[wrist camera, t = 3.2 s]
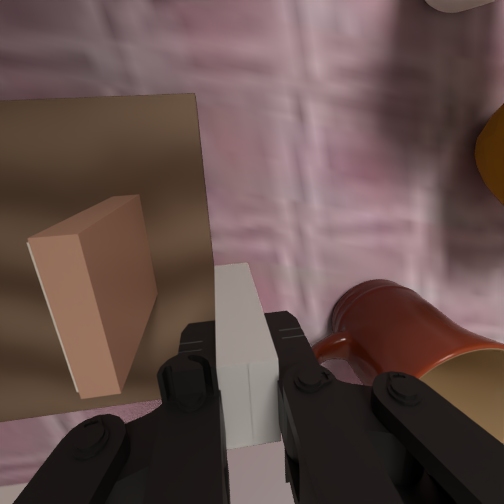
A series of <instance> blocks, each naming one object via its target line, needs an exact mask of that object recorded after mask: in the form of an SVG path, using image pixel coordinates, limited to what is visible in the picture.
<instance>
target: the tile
mask: <svg viewBox="0 0 504 504" xmlns="http://www.w3.org/2000/svg"><path fill="white" fill-rule="evenodd" d="M27 239H28V242H27V246H28V249H29V252H30V255H31V258H32V261H33V264H34V267H35V270H36V273H37V276H38V279H39V282H40V285H41V288H42V291H43V293H44V296H45V299H46V302H47V305H48V308H49V311H50V314H51V317H52V320H53V323H54V326H55V329H56V332H57V335H58V338H59V341H60V344H61V347H62V350H63V353H64V356H65V359H66V362H67V365H68V368H69V371H70V374H71V377H72V379H73V382H74V385H75V388H76V391H77V392H79V394H80V397H81V399H86V398H93V397H100V396H107V395H114V394H121V392H122V389H123V387H124V384H125V381H126V379H127V376H128V373H129V371H130V368H131V365H132V362H133V360H134V357H135V354H136V352H137V349H138V346H139V343H140V341H141V338H142V335H143V333H144V330H145V327H146V324H147V322H148V319H149V316H150V314H151V311H152V308H153V305H154V303H155V300H156V297H157V295H158V292H157V287H156V281H155V276H154V271H153V265H152V260H151V254H150V249H149V244H148V238H147V233H146V228H145V222H144V217H143V212H142V206H141V201H140V195H125V196H113V197H111V198H108V199H106V200H104V201H102V202H100V203H98V204H96V205H94V206H92V207H90V208H88V209H86V210H84V211H82V212H80V213H78V214H76V215H74V216H72V217H70V218H68V219H66V220H64V221H62V222H60V223H58V224H56V225H53V226H51V227H49V228H47V229H45V230H43V231H41V232H39V233H37V234H35V235H33V236H31V237H29V238H27Z"/></svg>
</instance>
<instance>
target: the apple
mask: <svg viewBox="0 0 504 504" xmlns="http://www.w3.org/2000/svg"><path fill="white" fill-rule="evenodd" d="M474 156H475V160H476V164H477V168H478V170H479V172H480V174H481V177H482V179H483V181H484V183H485V184H486V186H487V187H488V188H489V190H490V191H491V192H492V193H493V194H494V195H495V196H496V197H497V199H498V200H499V201H500V202H501V203H502V204H503V205H504V104H503V105H502V106H501V107H500V108H499V109H498V110H497V111H496V112H495V113H494V114H493V115H492V116H491V118H490V119H489V121H488V123H487V124H486V126H485V127H484V129H483V130H482V132H481V133H480V135H479V136H478V138H477V141H476V147H475V153H474Z"/></svg>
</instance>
